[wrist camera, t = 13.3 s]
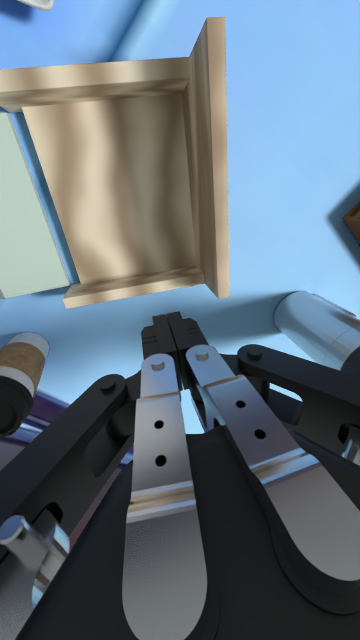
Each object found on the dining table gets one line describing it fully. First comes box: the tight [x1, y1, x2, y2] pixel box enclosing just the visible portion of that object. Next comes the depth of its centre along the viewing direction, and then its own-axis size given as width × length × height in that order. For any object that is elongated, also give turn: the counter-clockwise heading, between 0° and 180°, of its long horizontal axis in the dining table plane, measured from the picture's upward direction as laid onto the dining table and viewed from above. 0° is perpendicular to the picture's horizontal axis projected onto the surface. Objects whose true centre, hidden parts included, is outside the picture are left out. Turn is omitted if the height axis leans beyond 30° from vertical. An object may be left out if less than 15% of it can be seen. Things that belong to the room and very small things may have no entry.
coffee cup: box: [0, 332, 49, 438], centre depth 34 cm, size 8×8×15 cm
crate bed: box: [0, 17, 230, 309], centre depth 28 cm, size 22×24×12 cm
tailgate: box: [0, 113, 70, 299], centre depth 30 cm, size 2×20×10 cm
